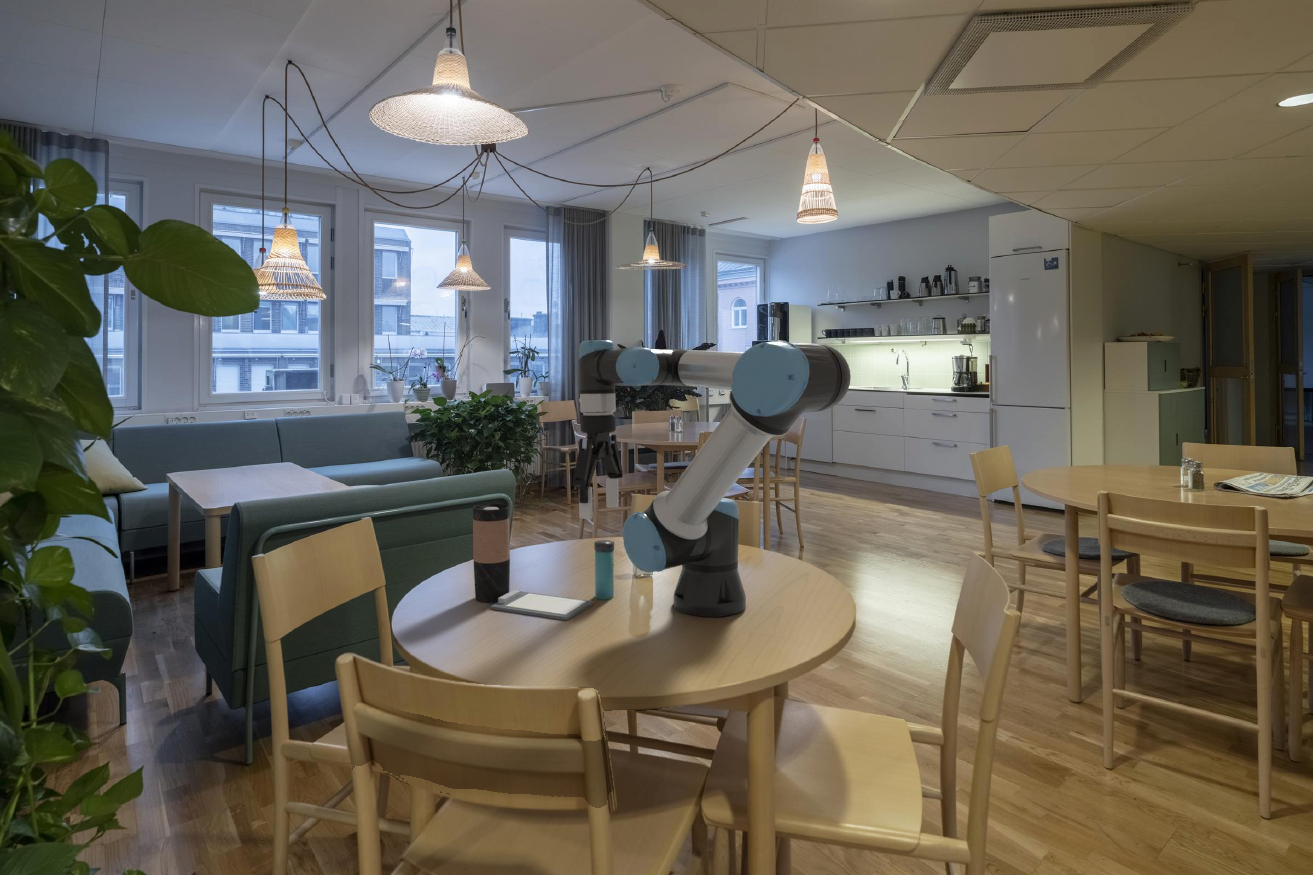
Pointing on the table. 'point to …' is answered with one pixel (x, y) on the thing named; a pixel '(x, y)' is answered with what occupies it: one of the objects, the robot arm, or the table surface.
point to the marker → (604, 569)
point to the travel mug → (491, 552)
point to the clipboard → (541, 605)
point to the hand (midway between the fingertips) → (599, 512)
